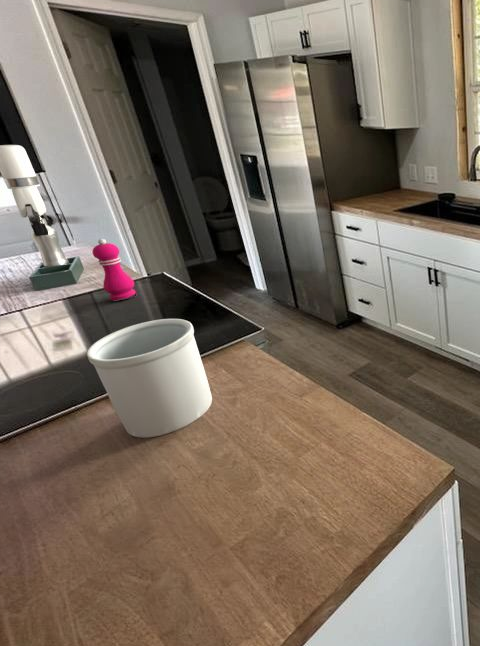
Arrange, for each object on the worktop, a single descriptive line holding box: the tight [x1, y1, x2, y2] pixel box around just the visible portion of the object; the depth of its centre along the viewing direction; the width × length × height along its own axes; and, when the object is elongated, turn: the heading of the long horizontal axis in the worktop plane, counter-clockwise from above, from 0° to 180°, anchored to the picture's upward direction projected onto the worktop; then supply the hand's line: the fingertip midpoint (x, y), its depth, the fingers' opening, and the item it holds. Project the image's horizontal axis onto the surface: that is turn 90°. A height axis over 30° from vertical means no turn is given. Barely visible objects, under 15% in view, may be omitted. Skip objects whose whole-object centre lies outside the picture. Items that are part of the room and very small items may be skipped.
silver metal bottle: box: [30, 218, 70, 268], centre depth 148 cm, size 6×7×20 cm
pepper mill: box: [92, 238, 137, 301], centre depth 130 cm, size 7×7×20 cm
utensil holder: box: [86, 318, 213, 439], centre depth 79 cm, size 15×15×18 cm
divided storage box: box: [28, 255, 85, 292], centre depth 149 cm, size 10×19×5 cm, turn 39°
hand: (44, 232), depth 147 cm, fingers closed on silver metal bottle, 6 cm apart
